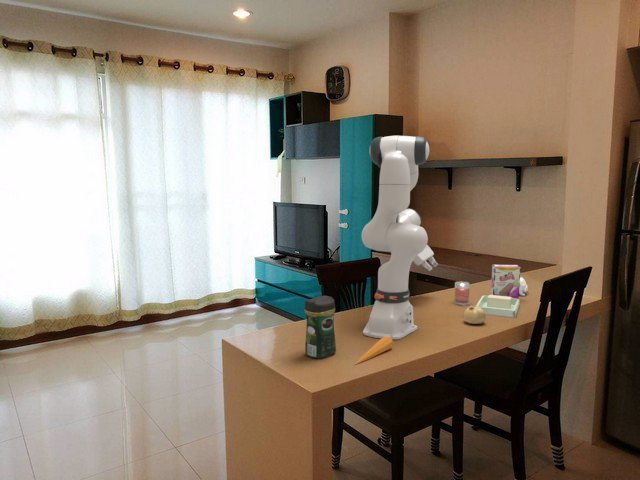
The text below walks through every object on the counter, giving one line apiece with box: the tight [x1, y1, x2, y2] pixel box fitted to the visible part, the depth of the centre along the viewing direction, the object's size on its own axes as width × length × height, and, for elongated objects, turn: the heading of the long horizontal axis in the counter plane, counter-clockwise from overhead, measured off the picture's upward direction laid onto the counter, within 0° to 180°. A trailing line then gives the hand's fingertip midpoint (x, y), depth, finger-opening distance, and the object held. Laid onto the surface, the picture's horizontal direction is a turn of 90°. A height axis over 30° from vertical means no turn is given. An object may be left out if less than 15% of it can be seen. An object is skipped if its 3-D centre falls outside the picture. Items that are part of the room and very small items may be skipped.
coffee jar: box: [304, 295, 337, 359], centre depth 157 cm, size 10×8×19 cm
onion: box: [463, 305, 487, 325], centre depth 189 cm, size 8×8×7 cm
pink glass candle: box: [453, 280, 471, 307], centre depth 213 cm, size 6×6×10 cm
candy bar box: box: [490, 264, 522, 299], centre depth 218 cm, size 11×5×16 cm, turn 84°
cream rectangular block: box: [487, 294, 511, 309], centre depth 209 cm, size 5×9×4 cm, turn 64°
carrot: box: [354, 336, 394, 365], centre depth 156 cm, size 20×4×4 cm, turn 140°
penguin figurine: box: [519, 276, 529, 297], centre depth 233 cm, size 6×8×12 cm
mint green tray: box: [474, 295, 520, 319], centre depth 205 cm, size 20×15×4 cm
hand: (433, 267), depth 217 cm, fingers open, 8 cm apart
